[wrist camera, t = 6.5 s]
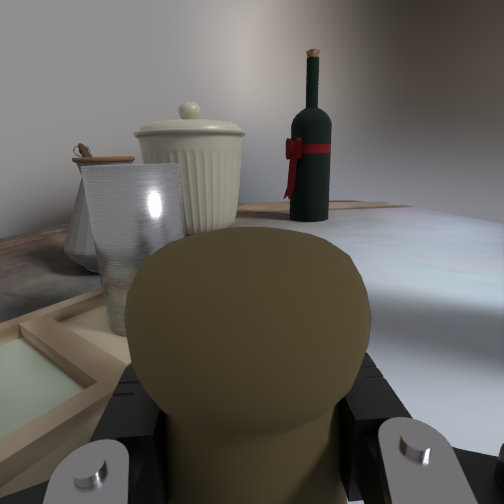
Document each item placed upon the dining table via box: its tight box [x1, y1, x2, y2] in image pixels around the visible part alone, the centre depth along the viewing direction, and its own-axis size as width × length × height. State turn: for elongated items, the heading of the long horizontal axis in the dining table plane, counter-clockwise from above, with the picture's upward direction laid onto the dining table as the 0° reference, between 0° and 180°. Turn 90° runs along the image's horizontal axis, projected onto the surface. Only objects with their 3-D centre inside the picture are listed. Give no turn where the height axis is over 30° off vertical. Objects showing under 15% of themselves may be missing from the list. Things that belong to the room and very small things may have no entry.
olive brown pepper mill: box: [124, 227, 371, 504], centre depth 8 cm, size 6×6×11 cm
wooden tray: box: [0, 287, 131, 498], centre depth 19 cm, size 25×12×2 cm, turn 144°
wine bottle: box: [284, 49, 332, 222], centre depth 60 cm, size 8×10×30 cm
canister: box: [134, 102, 246, 236], centre depth 54 cm, size 18×18×21 cm
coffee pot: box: [64, 143, 135, 273], centre depth 42 cm, size 21×12×15 cm, turn 35°
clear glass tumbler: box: [81, 163, 186, 337], centre depth 22 cm, size 6×6×11 cm
